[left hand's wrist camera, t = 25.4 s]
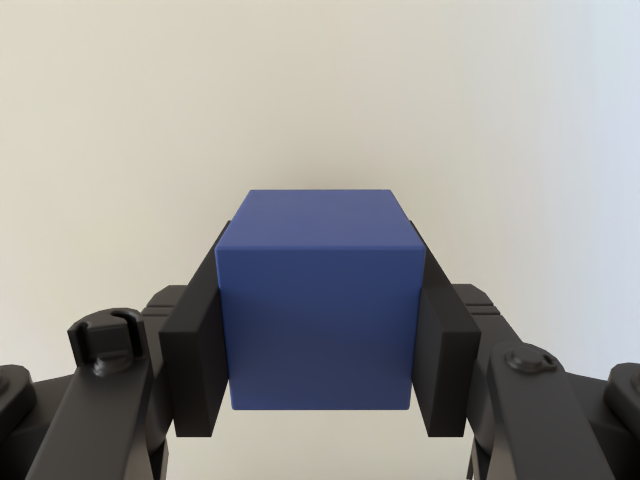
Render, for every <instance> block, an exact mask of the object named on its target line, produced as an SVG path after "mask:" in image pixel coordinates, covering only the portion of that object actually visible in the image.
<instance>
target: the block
mask: <svg viewBox="0 0 640 480" xmlns="http://www.w3.org/2000/svg"><path fill="white" fill-rule="evenodd" d="M425 254H426V248H425V245H424V244H423V242H422V241H421V239H420V237H419V236H418V234H417V232H416V231H415V229H414V228H413V226H412V224H411V223H410V221H409V219H408V218H407V216H406V214H405V213H404V211H403V210H402V208H401V206H400V205H399V203H398V201H397V200H396V198H395V197H394V195H393V193H392V192H391V190H250V191H249V193H248V195H247V196H246V198H245V200H244V201H243V203H242V204H241V206H240V208H239V209H238V211H237V213H236V214H235V216H234V218H233V219H232V221H231V222H230V224H229V226H228V227H227V229H226V231H225V232H224V234H223V235H222V237H221V239H220V240H219V242H218V244H217V245H216V247H215V256H216V266H217V275H218V284H219V292H220V302H221V311H222V320H223V330H224V339H225V348H226V358H227V367H228V376H229V386H230V395H231V404H232V409H233V410H408V409H409V407H410V397H411V388H412V371H413V362H414V352H415V343H416V333H417V324H418V314H419V305H420V295H421V288H422V282H423V273H424V263H425Z"/></svg>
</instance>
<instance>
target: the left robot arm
mask: <svg viewBox="0 0 640 480" xmlns="http://www.w3.org/2000/svg"><path fill="white" fill-rule="evenodd" d="M230 222H231V221H228V222H227V224H226V225H225V227H224V228H223V230H222V232H221V233H220V235H219V236H218V238H217V240H216V241H215V243H214V244H213V246H212V247H211V249H210V251H209V252H208V254H207V255H206V257H205V259H204V260H203V262H202V263H201V265H200V266H199V268H198V270H197V271H196V273H195V274H194V276H193V278H192V279H191V281H190V282H189V284H188V285H169V286H167V287H166V288H164V289H163V290H161V291H159V292H158V293H156V294H155V295H154V296H153V297H152V299H151V300H150V301H149V303H148V304H147V305H146V308H144V309H143V311H142V312H141V313H140V312H139V311H137V310H134V309H130V308H111V309H107V310H102V311H98V312H95V313H93V314H90V315H87V316H85V317H83V318H82V319H80V320H79V321H77V322H75V323H74V324H73V325H72V326H71V327H70V328H69V329H68V331H67V333H68V336H69V340H70V343H71V347H72V351H73V354H74V358H75V361H76V365H77V368H76V371H75V373H74V374H71V375H68V376H64V377H59V378H54V379H49V380H44V381H39V382H35V383H33V382H32V379H31V376H30V373H29V371H28V370H27V369H26V368H24V367H23V366H18V365H12V364H11V365H3V366H0V480H166V472H167V463H168V455H169V452H168V445H167V440H166V434H167V432H168V429H169V427H170V425H171V422H172V420H174V425H175V431H176V437H211V436H212V433H213V429H214V426H215V423H216V419H217V416H218V413H219V409H220V406H221V403H222V399H223V396H224V393H225V389H226V386H227V383H228V379H229V376H228V367H227V358H226V348H225V339H224V330H223V320H222V311H221V302H220V292H219V284H218V275H217V266H216V256H215V247H216V245H217V244H218V242H219V240H220V239H221V237H222V235H223V234H224V232H225V231H226V229H227V227H228V226H229V224H230ZM410 223H411V224H412V226H413V228H414V229H415V231H416V232H417V234H418V236H419V237H420V239H421V241H422V242H423V244H424V245H425V248H426V254H425V263H424V273H423V282H422V288H421V295H420V305H419V314H418V324H417V333H416V343H415V352H414V362H413V371H412V384H413V387H414V390H415V394H416V397H417V400H418V404H419V407H420V410H421V414H422V417H423V420H424V424H425V427H426V430H427V434H428V437H463V435H464V429H465V424H466V418H467V419H468V421H469V423H470V425H471V428H472V430H473V432H474V440H473V445H472V450H471V455H470V461H469V466H468V472H467V478H466V479H469V480H472V477H473V472H474V480H640V364H637V363H623V364H617V365H616V366H615V367H613V368H612V369H611V372H610V375H609V378H608V381H605V380H600V379H595V378H590V377H585V376H580V375H575V374H572V373H568V372H565V370H564V368H563V366H562V365H561V363H560V362H559V361H558V360H557V358H556V357H554V356H553V355H551V354H550V353H549V352H547V351H546V350H544V349H541V348H539V347H537V346H534V345H532V344H527V343H523V342H522V341H521V339H520V338H519V337H518V336H517V334H516V333H515V332H514V330H513V329H512V328H511V326H510V325H509V324H508V322H507V321H506V320H505V318H504V317H503V316H502V315H500V312H499V311H498V309H497V308H496V307H495V306H494V305H493V303H492V301H491V300H490V299H489V297H488V296H487V295H486V293H484V292H483V291H481V290H479V289H478V288H476V287H475V286H473V285H472V284H451V283H450V281H449V280H448V278H447V276H446V275H445V273H444V272H443V270H442V269H441V267H440V265H439V264H438V262H437V261H436V259H435V257H434V256H433V254H432V253H431V251H430V250H429V248H428V246H427V245H426V243H425V242H424V240H423V238H422V237H421V235H420V234H419V232H418V230H417V229H416V227H415V226H414V224H413V223H412V221H410Z"/></svg>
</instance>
